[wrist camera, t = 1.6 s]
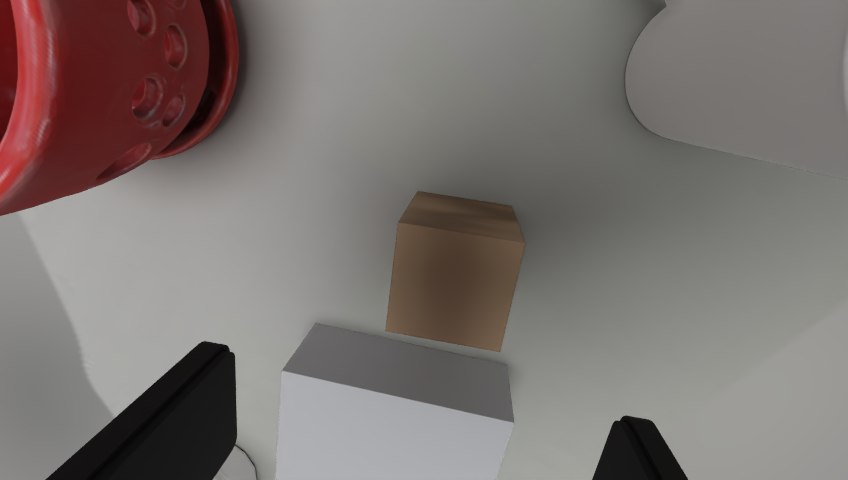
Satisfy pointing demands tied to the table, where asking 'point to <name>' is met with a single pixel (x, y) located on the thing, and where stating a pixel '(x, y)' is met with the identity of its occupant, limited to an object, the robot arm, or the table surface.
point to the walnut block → (455, 270)
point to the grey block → (389, 411)
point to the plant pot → (106, 89)
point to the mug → (747, 79)
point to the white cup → (236, 467)
